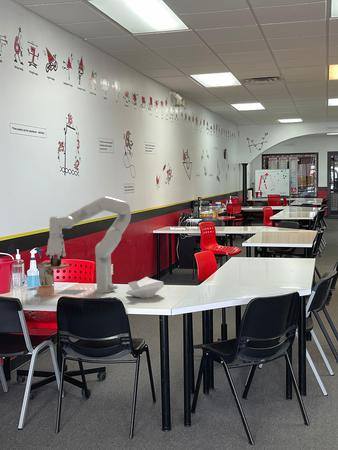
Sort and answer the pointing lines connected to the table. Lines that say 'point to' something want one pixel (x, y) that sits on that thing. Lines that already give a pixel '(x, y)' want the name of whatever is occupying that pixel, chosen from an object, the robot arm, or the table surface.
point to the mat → (71, 292)
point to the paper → (144, 287)
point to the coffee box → (45, 274)
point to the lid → (55, 265)
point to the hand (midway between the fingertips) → (55, 265)
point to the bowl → (45, 290)
